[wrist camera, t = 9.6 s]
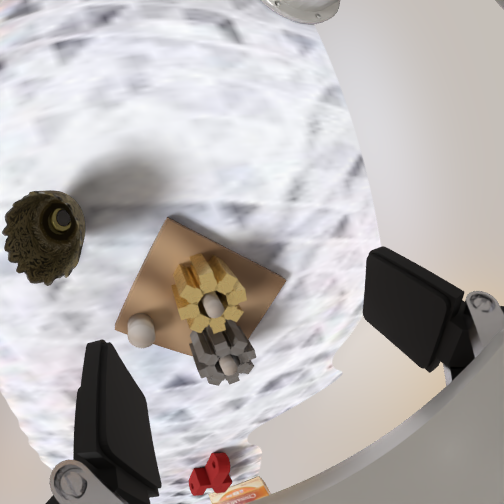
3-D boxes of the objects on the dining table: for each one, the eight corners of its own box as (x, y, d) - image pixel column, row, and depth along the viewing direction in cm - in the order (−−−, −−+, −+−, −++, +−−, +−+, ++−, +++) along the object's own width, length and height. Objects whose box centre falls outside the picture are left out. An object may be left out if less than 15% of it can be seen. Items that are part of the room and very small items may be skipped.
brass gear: (164, 263, 28) (170, 284, 24) (225, 246, 30) (240, 263, 26) (180, 315, 31) (188, 341, 26) (234, 299, 33) (250, 321, 28)
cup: (84, 170, 23) (62, 176, 16) (106, 238, 26) (95, 267, 19) (24, 197, 21) (-10, 214, 14) (48, 261, 24) (25, 296, 17)
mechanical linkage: (216, 479, 50) (223, 495, 45) (187, 481, 47) (193, 498, 42) (235, 447, 46) (243, 465, 42) (201, 449, 43) (208, 469, 39)
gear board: (167, 217, 28) (175, 236, 22) (282, 276, 36) (312, 303, 29) (115, 323, 29) (113, 364, 23) (226, 360, 37) (244, 396, 31)
